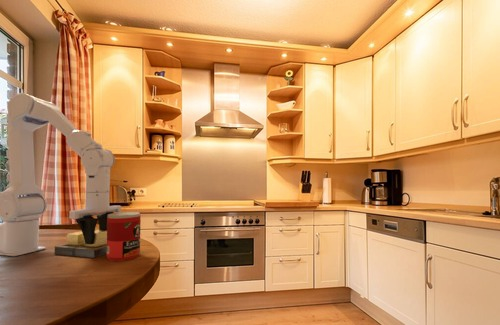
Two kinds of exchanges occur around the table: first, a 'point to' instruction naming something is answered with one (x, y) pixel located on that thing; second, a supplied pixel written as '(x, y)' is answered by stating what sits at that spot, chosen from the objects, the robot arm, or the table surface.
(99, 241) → the honey wood cube
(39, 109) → the robot arm
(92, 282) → the table surface
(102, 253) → the grey open box
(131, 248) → the canned food
